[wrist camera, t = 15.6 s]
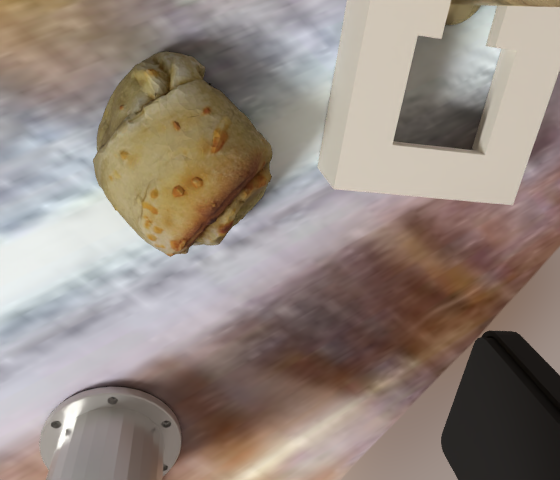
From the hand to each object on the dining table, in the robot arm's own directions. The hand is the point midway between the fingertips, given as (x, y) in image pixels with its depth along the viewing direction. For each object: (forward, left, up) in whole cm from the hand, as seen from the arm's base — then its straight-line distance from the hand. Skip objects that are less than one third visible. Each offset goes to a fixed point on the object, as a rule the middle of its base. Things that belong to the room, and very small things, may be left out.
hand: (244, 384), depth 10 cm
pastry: (-4, +1, -31) cm, 31 cm away
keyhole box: (+6, -16, -30) cm, 35 cm away
